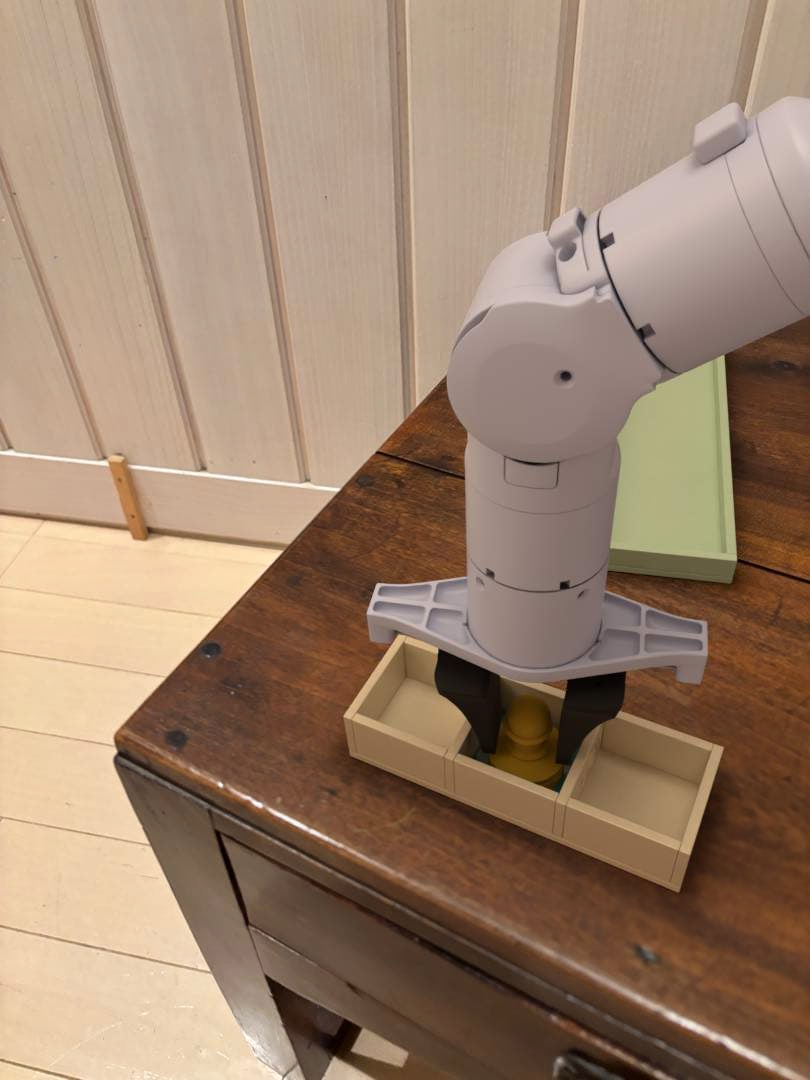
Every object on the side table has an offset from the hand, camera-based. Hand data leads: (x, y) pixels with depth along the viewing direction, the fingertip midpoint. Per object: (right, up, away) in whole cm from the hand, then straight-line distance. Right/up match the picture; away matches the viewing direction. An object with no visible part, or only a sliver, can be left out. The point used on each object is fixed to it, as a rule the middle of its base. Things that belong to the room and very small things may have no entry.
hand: (526, 742), depth 46 cm
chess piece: (0, -2, +1) cm, 2 cm away
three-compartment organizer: (0, -2, +2) cm, 3 cm away
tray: (+13, +19, +24) cm, 33 cm away
